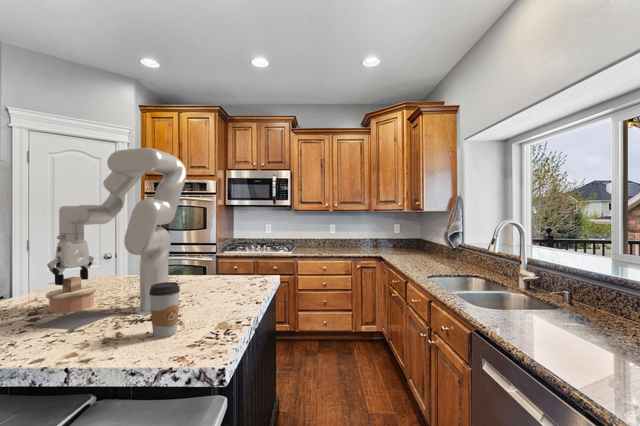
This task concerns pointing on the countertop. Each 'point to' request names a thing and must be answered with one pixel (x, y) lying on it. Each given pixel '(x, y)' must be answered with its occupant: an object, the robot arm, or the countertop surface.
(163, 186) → the robot arm
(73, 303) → the bowl
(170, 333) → the coffee cup
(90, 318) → the mat
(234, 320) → the countertop surface
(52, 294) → the lid
